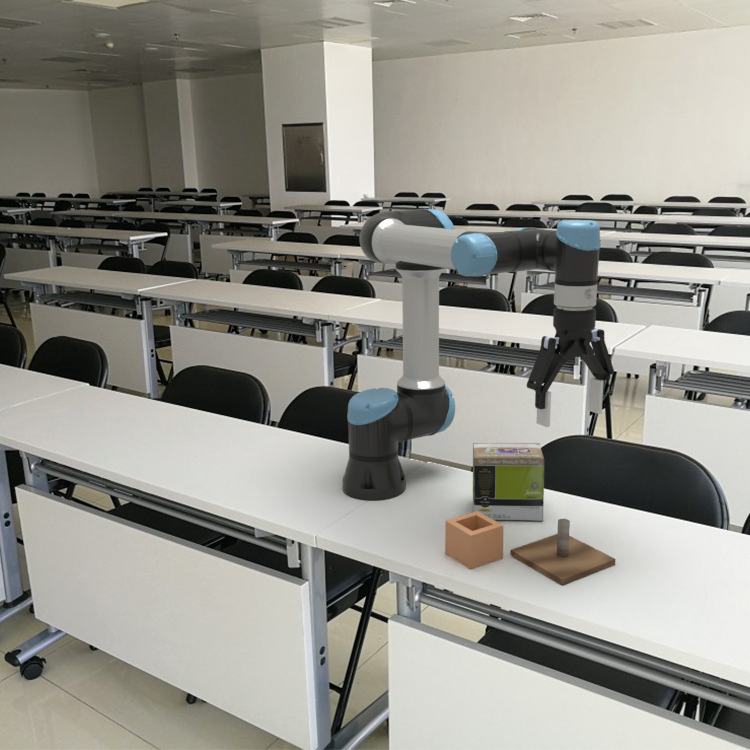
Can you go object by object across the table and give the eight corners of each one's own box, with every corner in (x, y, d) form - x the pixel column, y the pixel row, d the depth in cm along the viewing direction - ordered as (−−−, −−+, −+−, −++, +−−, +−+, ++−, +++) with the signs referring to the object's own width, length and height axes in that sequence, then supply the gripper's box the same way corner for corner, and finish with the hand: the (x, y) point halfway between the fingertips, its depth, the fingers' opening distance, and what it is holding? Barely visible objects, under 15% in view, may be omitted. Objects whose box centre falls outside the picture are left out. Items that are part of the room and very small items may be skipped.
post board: (510, 555, 157) (511, 517, 155) (562, 537, 164) (563, 500, 162) (562, 585, 145) (564, 544, 143) (615, 564, 153) (617, 525, 151)
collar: (445, 553, 158) (445, 520, 157) (476, 542, 162) (477, 510, 161) (470, 569, 152) (471, 535, 150) (502, 558, 156) (503, 525, 154)
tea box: (538, 503, 181) (541, 441, 177) (543, 522, 171) (545, 457, 167) (471, 501, 182) (472, 440, 179) (472, 520, 173) (473, 456, 169)
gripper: (538, 317, 135) (534, 436, 141) (637, 302, 148) (630, 411, 154) (508, 311, 142) (505, 425, 147) (606, 297, 154) (600, 402, 160)
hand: (569, 418), depth 150 cm, fingers open, 13 cm apart
